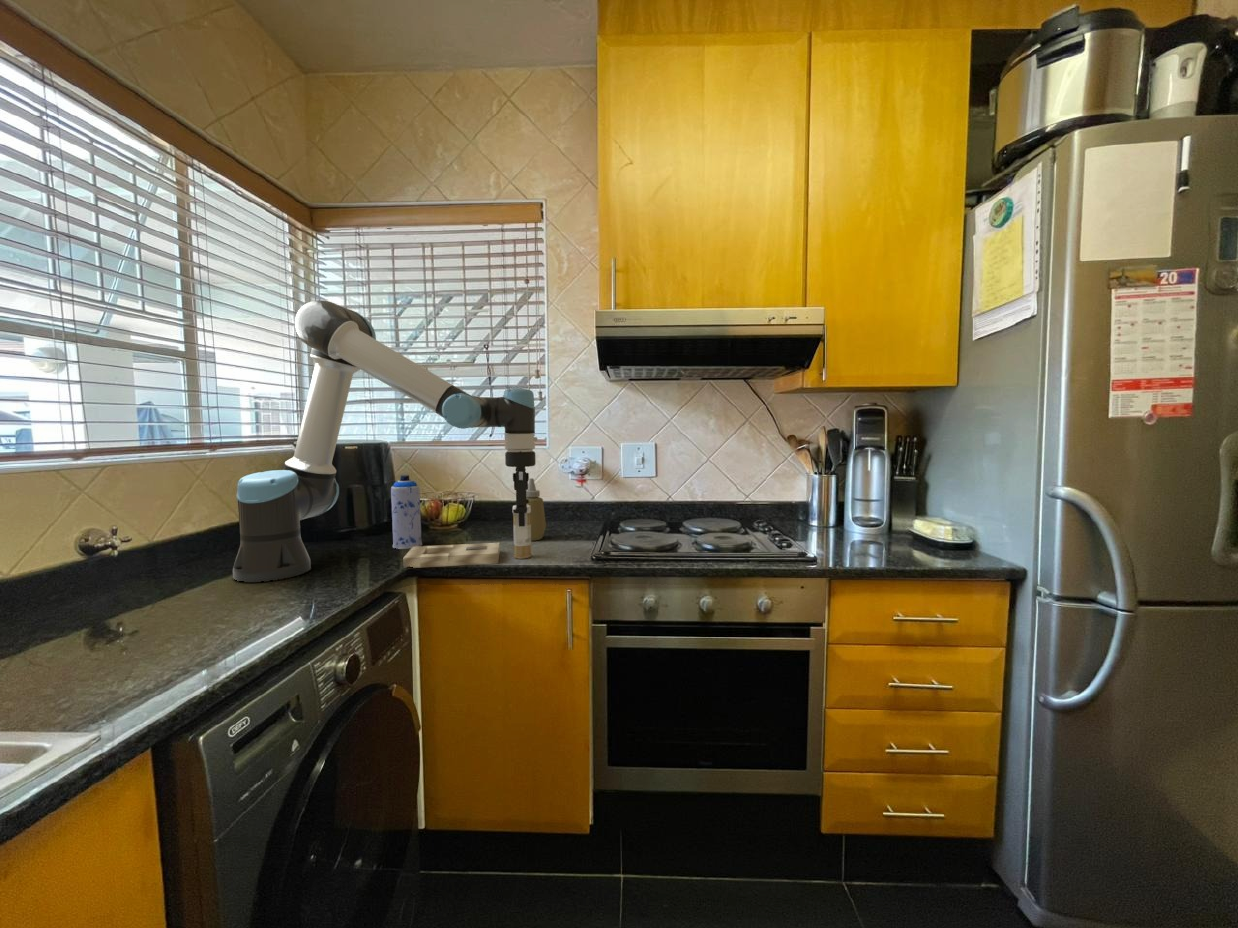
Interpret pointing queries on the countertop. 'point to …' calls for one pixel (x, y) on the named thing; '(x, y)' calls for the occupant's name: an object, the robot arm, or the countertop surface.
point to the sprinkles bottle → (523, 545)
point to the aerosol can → (406, 513)
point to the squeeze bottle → (536, 512)
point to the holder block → (452, 555)
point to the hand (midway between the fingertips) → (521, 533)
